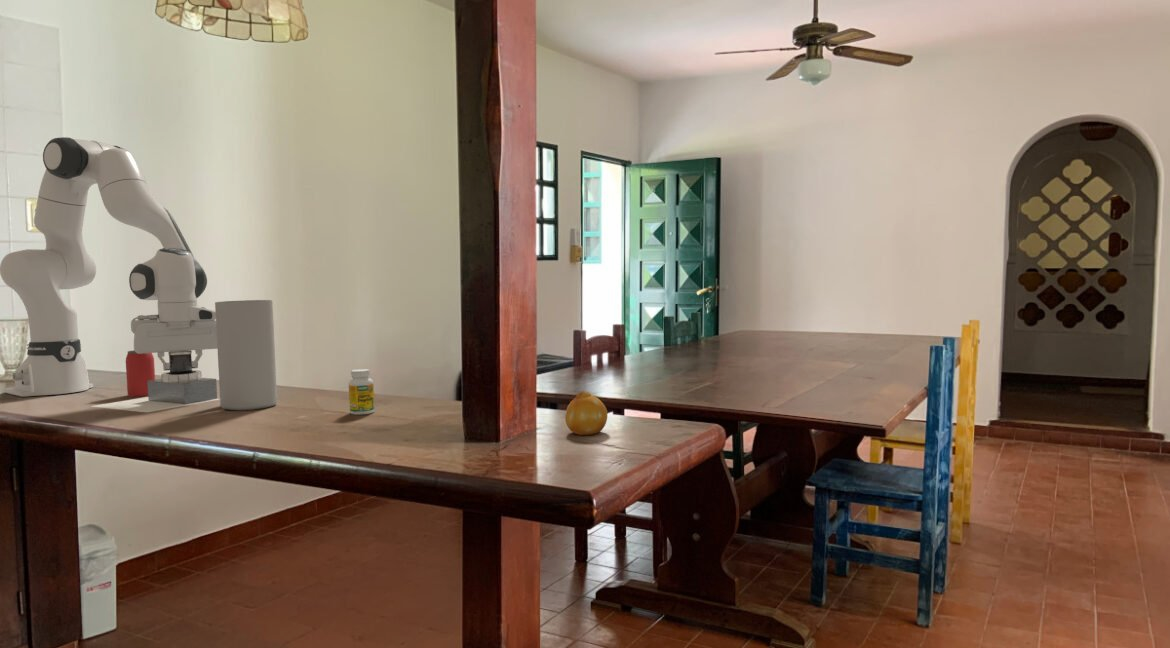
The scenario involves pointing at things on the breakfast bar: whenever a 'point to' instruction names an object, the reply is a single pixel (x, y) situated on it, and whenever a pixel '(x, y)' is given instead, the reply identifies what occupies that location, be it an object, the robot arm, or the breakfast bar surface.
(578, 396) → the fruit
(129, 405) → the mat
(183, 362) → the lens
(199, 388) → the camera body
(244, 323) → the cylinder vase
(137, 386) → the beer can
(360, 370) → the supplement bottle
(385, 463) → the breakfast bar surface
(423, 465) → the breakfast bar surface
